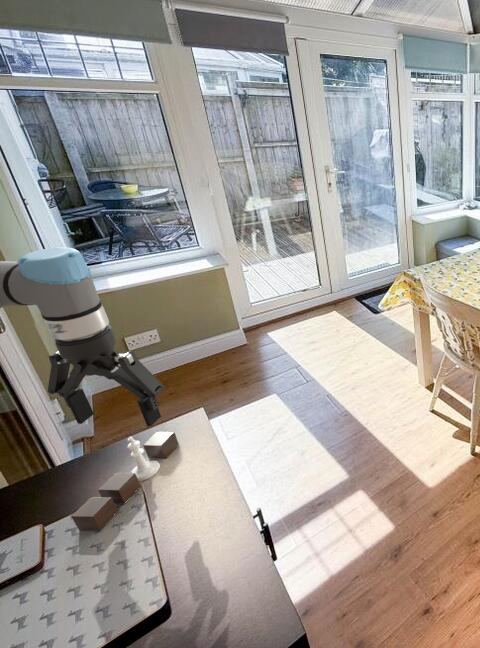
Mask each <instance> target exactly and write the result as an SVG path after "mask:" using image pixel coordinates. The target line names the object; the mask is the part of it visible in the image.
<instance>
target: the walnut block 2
mask: <svg viewBox="0 0 480 648" xmlns="http://www.w3.org/2000/svg"><path fill="white" fill-rule="evenodd" d="M138 488H139V489H141V488H142V485H141V483H140V481H138V479H137V476H136V474H135V473H131V472H114V473H113V474H112V475H111V477H109V478H108V479H107V480H106V481H105V482H104V483H103V484H102V485H101V486H100V487H99V488H98V489H97V491H98V493H99V495H100V497H111V498H112V499H113V501H114V503H115V505H121V504H120V503H125V502H126V501H127V500H128V499H129V498H130V497H131V498H132V497H134V495H135V494H136V493H137V492H138V490H139V489H138ZM136 490H137V491H136ZM135 491H136V492H135ZM131 498H130V499H131ZM130 499H129V500H130ZM129 500H128V501H129ZM128 501H127V502H126V503H125V504H124V505H126V504H127V503H128Z"/></svg>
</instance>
